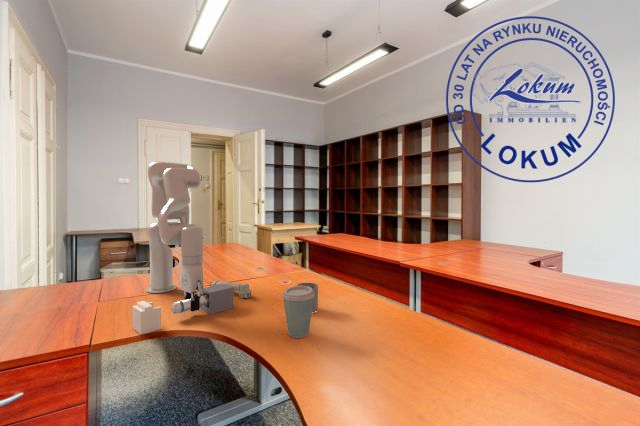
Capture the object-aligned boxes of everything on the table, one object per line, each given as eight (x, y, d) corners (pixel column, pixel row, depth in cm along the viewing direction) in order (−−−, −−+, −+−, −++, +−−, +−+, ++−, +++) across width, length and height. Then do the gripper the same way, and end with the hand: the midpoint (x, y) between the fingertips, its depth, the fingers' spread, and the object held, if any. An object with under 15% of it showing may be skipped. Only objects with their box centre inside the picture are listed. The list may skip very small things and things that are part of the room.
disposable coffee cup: (301, 344, 96) (302, 296, 95) (274, 335, 102) (275, 290, 101) (319, 332, 105) (320, 288, 104) (294, 324, 111) (294, 282, 110)
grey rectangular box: (201, 309, 123) (201, 288, 123) (224, 303, 131) (224, 283, 131) (210, 314, 119) (210, 292, 118) (233, 307, 126) (233, 287, 126)
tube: (171, 312, 113) (171, 301, 113) (226, 298, 130) (226, 288, 130) (176, 315, 111) (176, 304, 110) (231, 300, 127) (231, 290, 127)
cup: (320, 308, 128) (321, 284, 127) (311, 315, 120) (312, 289, 120) (302, 305, 131) (303, 281, 131) (292, 311, 124) (293, 286, 123)
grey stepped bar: (217, 279, 155) (253, 280, 141) (218, 293, 154) (254, 295, 140) (208, 281, 150) (244, 283, 136) (209, 295, 150) (245, 298, 136)
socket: (132, 327, 106) (132, 303, 105) (152, 322, 110) (152, 298, 110) (140, 334, 101) (140, 308, 100) (161, 328, 105) (161, 304, 105)
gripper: (171, 258, 119) (171, 305, 120) (193, 265, 108) (193, 317, 109) (191, 255, 124) (191, 301, 125) (213, 262, 113) (213, 312, 114)
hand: (192, 308), depth 117 cm, fingers closed on tube, 4 cm apart
